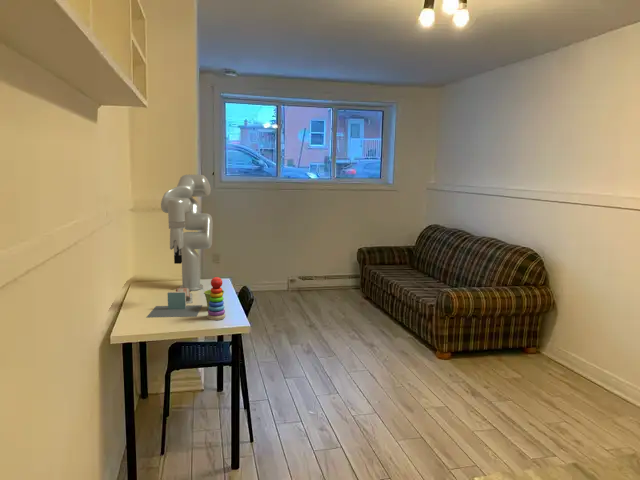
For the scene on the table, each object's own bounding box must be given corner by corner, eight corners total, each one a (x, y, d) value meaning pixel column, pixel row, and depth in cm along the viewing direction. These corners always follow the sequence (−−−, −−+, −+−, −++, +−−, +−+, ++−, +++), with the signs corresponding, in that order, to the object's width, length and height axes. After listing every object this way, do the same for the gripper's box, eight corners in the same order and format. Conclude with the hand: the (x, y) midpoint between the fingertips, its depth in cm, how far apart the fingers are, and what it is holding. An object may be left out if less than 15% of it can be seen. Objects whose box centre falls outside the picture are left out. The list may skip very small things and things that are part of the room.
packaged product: (172, 287, 251) (191, 286, 253) (172, 296, 251) (192, 295, 254) (171, 296, 233) (192, 295, 236) (171, 306, 234) (192, 304, 237)
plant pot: (203, 307, 230) (202, 290, 229) (222, 305, 234) (222, 288, 232) (205, 313, 222) (205, 294, 220) (226, 311, 225) (225, 293, 224)
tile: (169, 308, 228) (168, 291, 227) (186, 307, 229) (185, 291, 228) (168, 309, 226) (167, 292, 225) (185, 309, 227) (184, 292, 226)
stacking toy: (208, 321, 209) (207, 279, 207) (205, 316, 217) (204, 275, 214) (227, 319, 212) (226, 278, 210) (223, 314, 220) (222, 274, 217)
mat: (155, 306, 231) (155, 306, 231) (202, 305, 233) (202, 305, 233) (146, 318, 214) (146, 317, 213) (196, 317, 216) (196, 316, 216)
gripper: (172, 223, 235) (173, 260, 237) (165, 227, 220) (166, 266, 222) (187, 223, 235) (188, 260, 238) (181, 227, 220) (183, 266, 223)
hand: (178, 263), depth 230 cm, fingers closed
